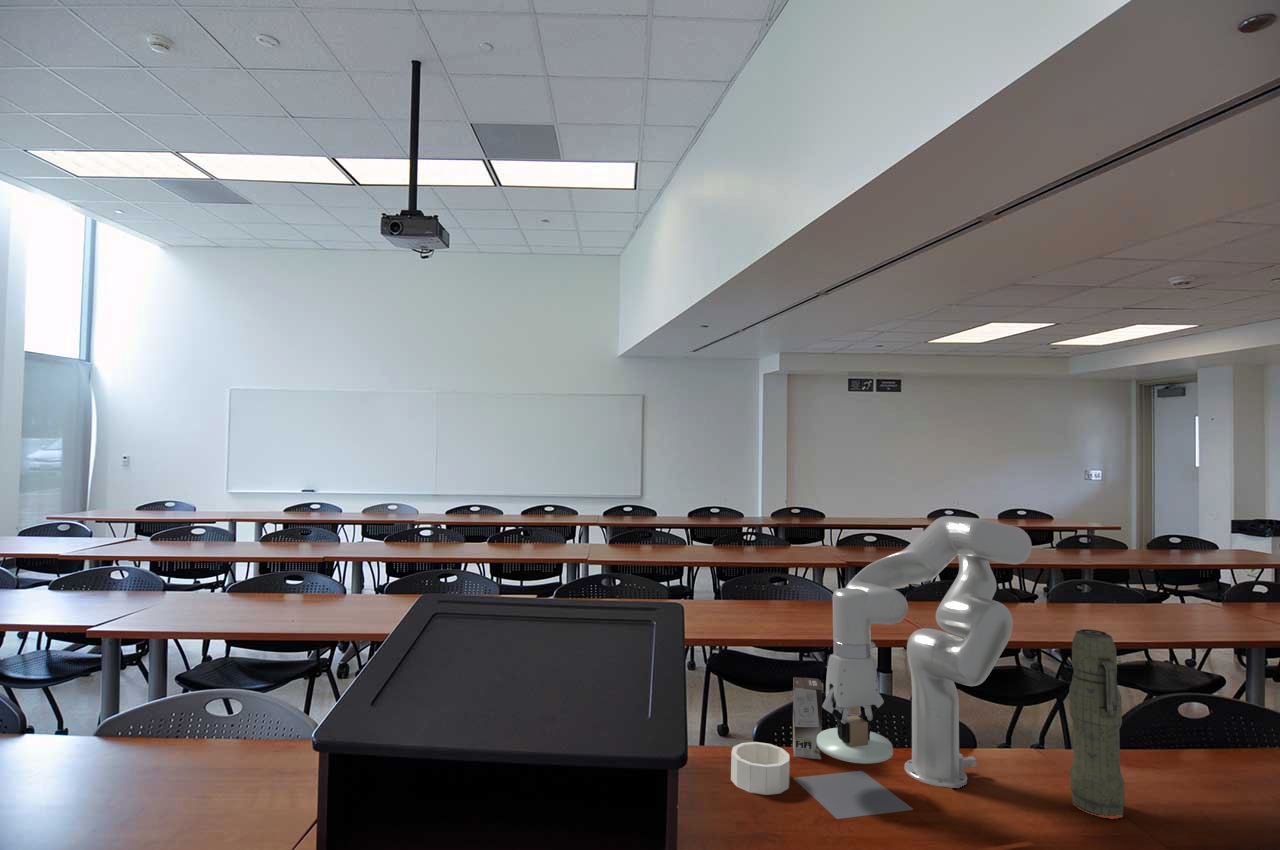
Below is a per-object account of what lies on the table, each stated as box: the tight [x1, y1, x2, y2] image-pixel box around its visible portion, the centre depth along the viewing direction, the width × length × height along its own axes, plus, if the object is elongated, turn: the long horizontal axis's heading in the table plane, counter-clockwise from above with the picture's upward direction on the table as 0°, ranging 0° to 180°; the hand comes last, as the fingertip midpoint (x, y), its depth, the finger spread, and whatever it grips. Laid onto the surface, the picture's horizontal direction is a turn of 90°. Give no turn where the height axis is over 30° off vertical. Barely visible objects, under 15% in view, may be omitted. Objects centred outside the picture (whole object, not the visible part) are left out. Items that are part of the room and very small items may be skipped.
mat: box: [792, 770, 914, 820], centre depth 133 cm, size 17×17×1 cm
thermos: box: [1068, 628, 1125, 816], centre depth 133 cm, size 9×12×35 cm
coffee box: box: [792, 676, 823, 760], centre depth 155 cm, size 9×6×16 cm
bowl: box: [730, 741, 791, 796], centre depth 138 cm, size 12×12×6 cm
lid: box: [817, 714, 894, 765], centre depth 135 cm, size 15×15×6 cm
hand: (853, 738), depth 134 cm, fingers closed on lid, 4 cm apart
